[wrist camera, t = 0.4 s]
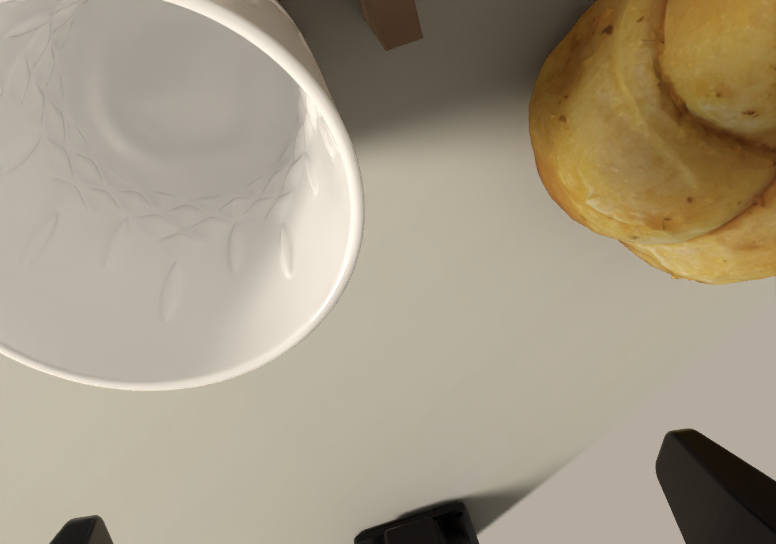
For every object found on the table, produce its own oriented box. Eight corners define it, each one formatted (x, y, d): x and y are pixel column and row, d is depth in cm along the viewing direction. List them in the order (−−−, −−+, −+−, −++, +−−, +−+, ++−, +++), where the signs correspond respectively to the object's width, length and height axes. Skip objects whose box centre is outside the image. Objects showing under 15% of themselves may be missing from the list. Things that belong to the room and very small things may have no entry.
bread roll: (841, 126, 24) (1061, 223, 17) (642, 285, 27) (765, 420, 20) (693, -152, 18) (950, -167, 11) (454, 96, 20) (544, 202, 14)
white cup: (260, -123, 16) (255, -119, 8) (356, 139, 21) (415, 314, 12) (-8, -20, 16) (-284, 89, 8) (144, 216, 21) (64, 439, 13)
